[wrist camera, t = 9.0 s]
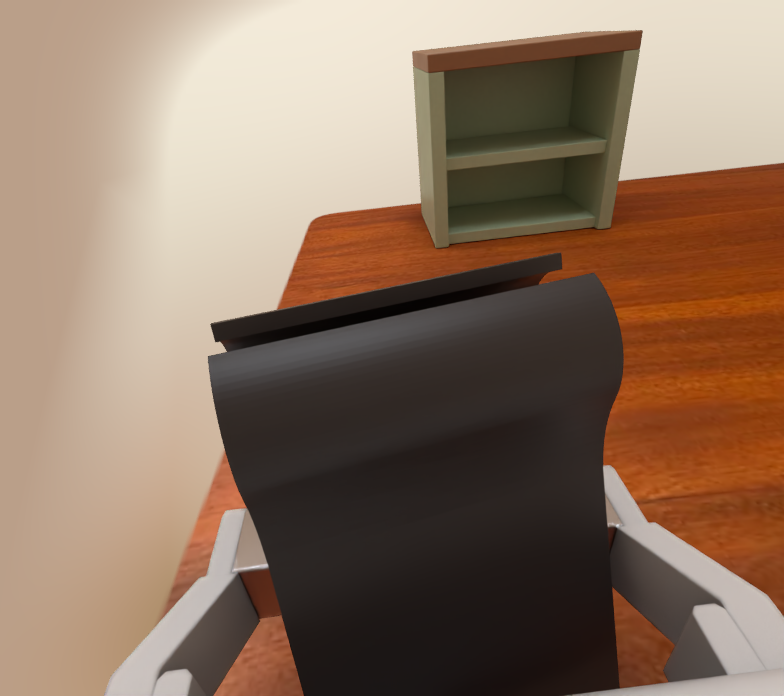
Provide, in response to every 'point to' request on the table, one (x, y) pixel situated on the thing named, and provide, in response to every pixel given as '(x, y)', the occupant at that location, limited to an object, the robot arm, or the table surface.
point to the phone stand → (433, 480)
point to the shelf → (522, 133)
